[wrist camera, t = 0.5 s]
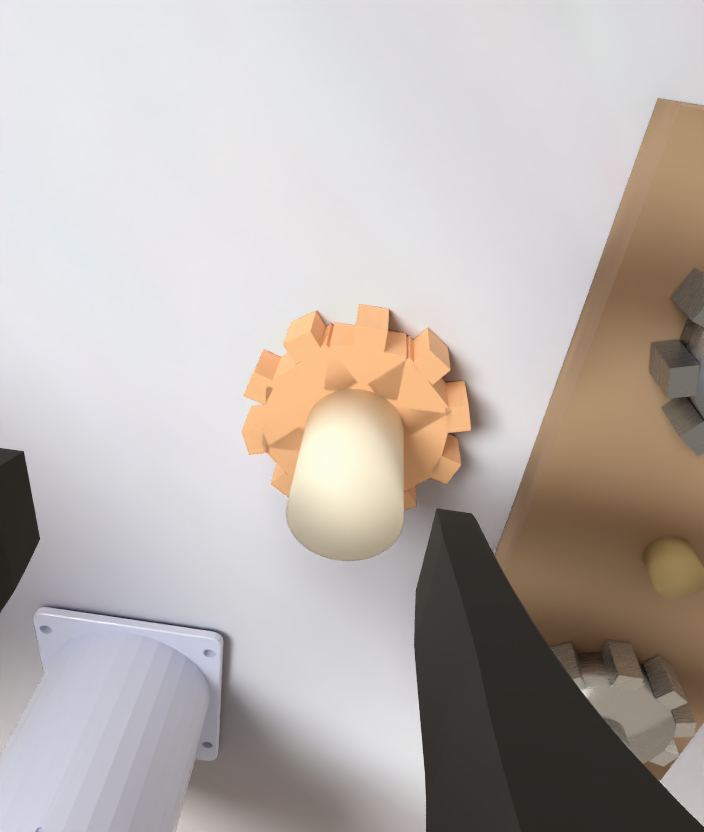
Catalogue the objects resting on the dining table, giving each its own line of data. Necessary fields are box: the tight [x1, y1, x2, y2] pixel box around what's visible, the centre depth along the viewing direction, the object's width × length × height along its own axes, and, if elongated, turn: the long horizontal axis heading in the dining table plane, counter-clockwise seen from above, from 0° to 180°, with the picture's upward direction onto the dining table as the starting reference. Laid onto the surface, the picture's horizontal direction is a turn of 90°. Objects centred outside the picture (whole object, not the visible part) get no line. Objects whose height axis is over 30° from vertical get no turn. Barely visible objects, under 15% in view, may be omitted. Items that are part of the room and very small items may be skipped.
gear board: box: [495, 98, 704, 780], centre depth 22 cm, size 26×10×3 cm, turn 172°
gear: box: [551, 640, 696, 767], centre depth 24 cm, size 7×7×3 cm
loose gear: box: [242, 304, 471, 561], centre depth 19 cm, size 7×7×6 cm
